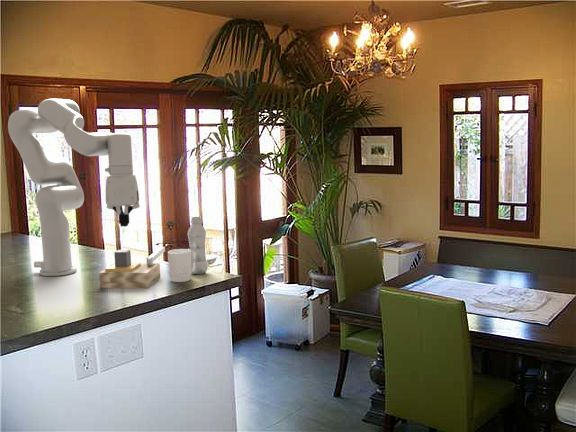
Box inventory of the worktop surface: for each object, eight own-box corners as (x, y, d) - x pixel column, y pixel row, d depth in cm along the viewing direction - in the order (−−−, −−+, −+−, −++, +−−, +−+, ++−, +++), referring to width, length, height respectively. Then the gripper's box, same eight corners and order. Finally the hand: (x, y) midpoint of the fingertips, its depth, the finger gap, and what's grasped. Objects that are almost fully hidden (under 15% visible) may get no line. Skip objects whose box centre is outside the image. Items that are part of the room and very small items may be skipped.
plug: (105, 280, 202) (104, 253, 201) (115, 274, 211) (114, 248, 210) (132, 280, 202) (131, 253, 200) (141, 274, 210) (139, 248, 209)
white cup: (189, 276, 215) (188, 248, 214) (194, 281, 208) (193, 252, 206) (167, 278, 212) (165, 250, 211) (171, 283, 205) (170, 254, 204)
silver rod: (160, 253, 228) (159, 246, 228) (165, 253, 228) (165, 246, 228) (146, 266, 208) (145, 258, 207) (152, 266, 208) (151, 258, 207)
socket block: (99, 287, 201) (99, 272, 201) (115, 277, 215) (114, 263, 214) (147, 287, 200) (147, 272, 199) (160, 277, 214) (159, 263, 213)
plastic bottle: (195, 276, 214) (193, 219, 211) (185, 273, 219) (183, 217, 216) (211, 273, 218) (209, 217, 215) (201, 270, 223) (199, 215, 220)
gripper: (94, 172, 200) (98, 228, 202) (140, 171, 199) (143, 227, 201) (102, 170, 207) (106, 224, 210) (146, 169, 206) (149, 224, 209)
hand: (124, 225), depth 206 cm, fingers closed
